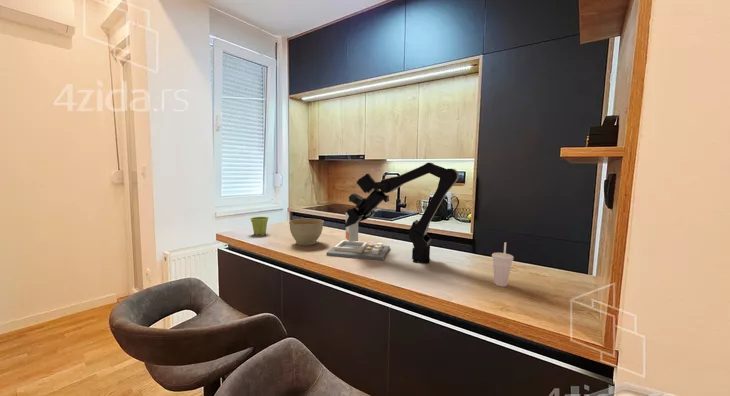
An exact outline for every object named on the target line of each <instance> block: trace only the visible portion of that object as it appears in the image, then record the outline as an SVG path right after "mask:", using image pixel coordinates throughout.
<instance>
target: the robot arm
mask: <svg viewBox="0 0 730 396" xmlns="http://www.w3.org/2000/svg"><path fill="white" fill-rule="evenodd" d="M428 174H430V175H432V176H434V177H437V178H439V180H438V184H437V189H436V190H435V192H434V194H433V196H432V197H431V199H430V201H429V203H428V205H427V206H426V208H425V210H424V212H423V214H422V216H421V217H420V219H419V220H418V219H416V220H415V221H413V222H412V224H411V227H410V228H409V229H408V239H409V240H410V241H411V243H412V246H413V247H412V251H411V253H412V254H411V260H412V262H413V263H421V264H422V263H424V264H430V262H431V259H430V258H431V257H430V256H431V245H430V244H431V242H432V238H431V237H430V236H429V235H428V231H429V227H430V225H431V224H430V223H431V221H432V219H433V218H434V217H435V214H436V213H437V211H438V209H439V207H440V206H441V203H442V202H443V200H444V198H445V197H446V195H447V193H448V192H449V191H450V190H451V189H452V188H453V187H454V185H455V184H456V183H457V181H458V180H459V178H460V174H459V171H457V170H456V168H445V167H442V166H440V165H436V164H435V163H433V162H426V163H424V164H422V165H420V166H419V167H416V168H414V169H412V170H409V171H406V172H405V173H402V174H399V175H397V176H392V177H391V176H390V177H387V178H383V179H381V180H380V181H376V180H375V179H374V178H373V177H372V176H371V174H370V173H366V174H365V175H363V176H361V177H360V178H359V179H358V180H357V181H356V185H357V186H358V187H359V188H360V189H361V190H362V192H363V193H364V194H369V195H368V196H367V197H363V196H361V195H359V193H358V194H357V193H351V194H350V195H349V196H348V202H350V203H353V204H355V207H349V208H348V209H347V210H346V211H345V214H346V213H347V214H348V215H349V217H348V219H347V221H346V220H345V224H344V227H345V228H346V227H348V226H350V225H352V224H355V223H357V222H358V223H360V222H362V221H365V220H368V219H370V218H371V217H373V216H374V215H375V213H376V211H375V210H376V209H377V208H378V207H379V205H380V204H381V203H382V202H383V201H384V203H388V202H390V195H389V194H388V193H393V192H394V191H396V190H398V189H400V188H401V187H402V186H404V185H405V184H407V183H409V182H411V181H412V182H413V180H416V179H419V178H421V177H424V176H426V175H428Z"/></svg>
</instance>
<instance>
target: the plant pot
mask: <svg viewBox="0 0 730 396" xmlns="http://www.w3.org/2000/svg"><path fill="white" fill-rule="evenodd" d="M269 219H270V218H269V217H268V216H254V217H250V218H249V220H250V221H251V226H252V230H253V235H255V236H259V235H260V236H262V234H263V235H266V233H267V229H268V228H267V227H268V220H269Z"/></svg>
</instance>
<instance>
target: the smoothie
mask: <svg viewBox="0 0 730 396" xmlns="http://www.w3.org/2000/svg"><path fill="white" fill-rule="evenodd" d="M491 258H492V263H493V264H492V265H493V281H494V282H493V284H494V285H495V284H496V285H495V286H498V287H503V288H504V287H507V286H508V282H509V277H510V274H511V273H510V272H511V267H512V263H513V261H514V255H512V254H509V253H507V242H504V244H503V252H493V253H492V254H491Z"/></svg>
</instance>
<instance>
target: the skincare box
mask: <svg viewBox="0 0 730 396" xmlns="http://www.w3.org/2000/svg"><path fill="white" fill-rule="evenodd" d="M348 217H349V215H348V214H347V213H346V212H345V222H346V221H347V219H348ZM345 239H346V241H349V242H354V241H357V242H359V222H357V223H355V224H352V225H350V226H348V227H345Z"/></svg>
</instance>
